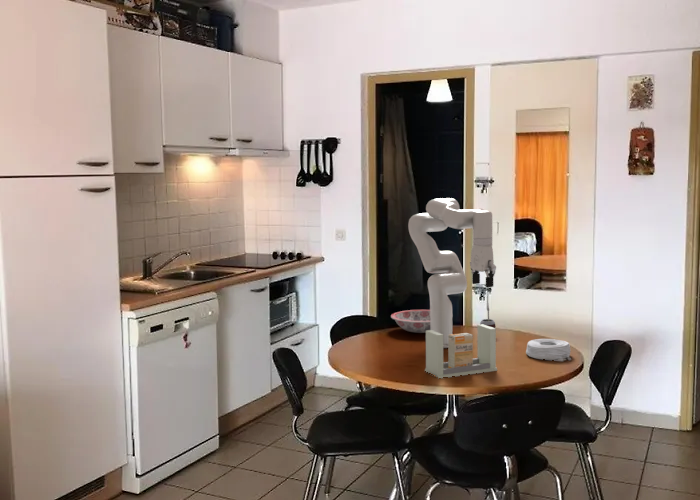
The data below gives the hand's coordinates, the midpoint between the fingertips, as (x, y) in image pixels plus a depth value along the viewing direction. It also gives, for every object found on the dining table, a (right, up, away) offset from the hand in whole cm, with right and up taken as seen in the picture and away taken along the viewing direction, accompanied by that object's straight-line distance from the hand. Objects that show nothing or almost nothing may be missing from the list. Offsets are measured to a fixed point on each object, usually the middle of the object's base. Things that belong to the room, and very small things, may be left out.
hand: (482, 285), depth 287 cm
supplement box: (-11, -31, -12) cm, 35 cm away
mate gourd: (+10, -26, +43) cm, 52 cm away
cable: (+28, -30, +8) cm, 42 cm away
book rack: (-10, -32, -12) cm, 36 cm away
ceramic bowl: (-18, -25, +58) cm, 66 cm away
